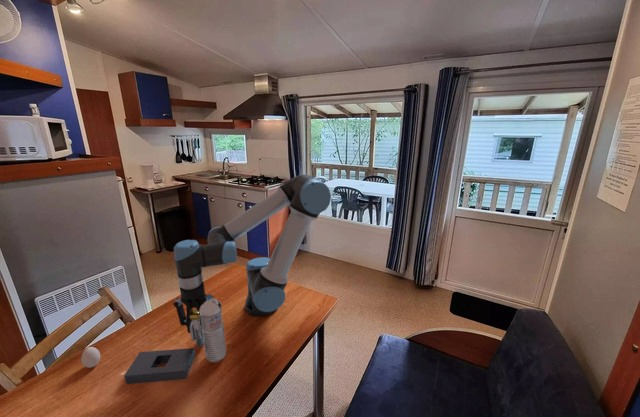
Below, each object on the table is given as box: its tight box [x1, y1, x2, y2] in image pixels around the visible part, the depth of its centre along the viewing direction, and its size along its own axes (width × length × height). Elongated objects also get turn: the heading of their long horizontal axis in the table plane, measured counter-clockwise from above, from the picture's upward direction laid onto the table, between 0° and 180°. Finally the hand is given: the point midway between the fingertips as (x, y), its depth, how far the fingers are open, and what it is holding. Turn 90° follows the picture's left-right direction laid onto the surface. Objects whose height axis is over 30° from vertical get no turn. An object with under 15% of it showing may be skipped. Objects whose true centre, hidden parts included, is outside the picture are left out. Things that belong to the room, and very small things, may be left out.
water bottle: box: [199, 294, 227, 364], centre depth 89 cm, size 7×7×25 cm
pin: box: [189, 308, 204, 348], centre depth 95 cm, size 5×5×14 cm
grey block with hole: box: [123, 347, 197, 385], centre depth 86 cm, size 18×9×4 cm, turn 97°
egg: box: [80, 346, 101, 369], centre depth 87 cm, size 5×5×7 cm
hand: (199, 338), depth 96 cm, fingers open, 3 cm apart
